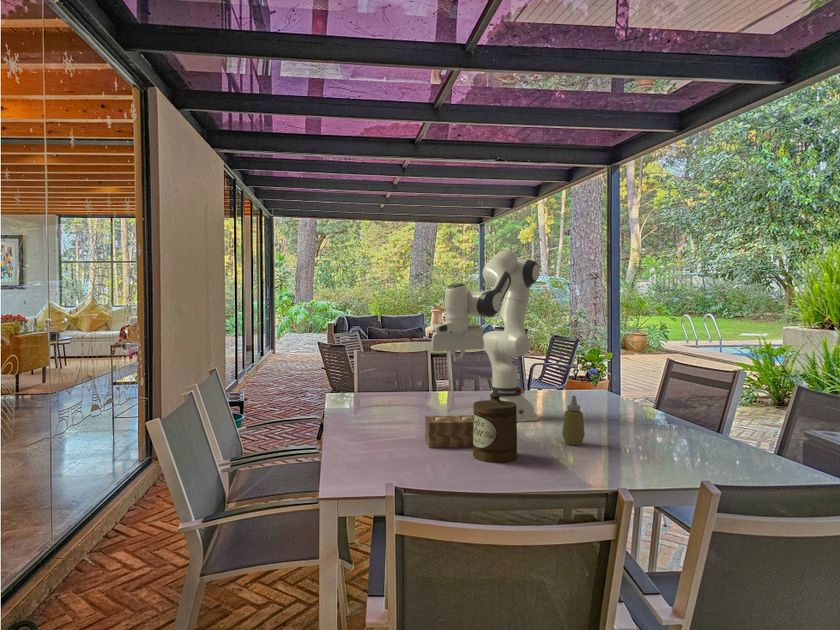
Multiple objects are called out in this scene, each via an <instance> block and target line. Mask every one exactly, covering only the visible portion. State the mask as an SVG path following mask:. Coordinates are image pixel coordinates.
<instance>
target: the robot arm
mask: <svg viewBox="0 0 840 630" xmlns="http://www.w3.org/2000/svg"><path fill="white" fill-rule="evenodd" d="M539 276H540V265H539V263H538V262H537V261H535V260H532V259H524V258H519V257H518V258H517V255H516V254H515V252H513V251H511V250H509V249H504V250H501V251H499V252H497V253H496V254H495V255H494V256H492V257H491V258H490V259H489V261H487V263H485V265H484V267H483V269H482V278H483V280H484V282H485V283H486V284H487V285H488V286H490V287H492V288H491V289H489V290H485V291H482V290H481V291H474V290H473V291H472V290H469V289H468V288H467V286H466V284H465V283H462V282H461V283H460V282H458V283H451V284H449V285H448V286H446V288H445V293H444V307H445V318H444V319H445V320H444V321H443V322H441V323H438V324H435V325H434V326H433V330H434V331H433V333H432V335H431V343H430V344H431V345H430V346H431V347H430V348H431V350H432V351H433V352H447V351H448V352H449V351H450V354H451V355H452V357H453V361H454V363H463V358H464V355H465V353H466V352H465V351H470V350H471V351H473V350H483V351H484V352H485V353H486V354H487V356H488V359H489V361H490V362H489V363H490V366H491V374H492V375H491V377H492V381H491V382H492V383H491V384H492V385H491V389H490V394H491V393H493V392H497V393H499V394H500V398H499V399H500V400H501V401H509V402H513V403H515V404H516V407H517V414H516V415H517V423H518V422H533V421H540V415H538V414H536V413H535V409H534V405H533V404H532V403H531V402H530V401H529V399H527V398H525V396H524V395H522V394H524V393H525V389H524V388H522V387H520V386H518V368H517V367H516V366H515V365H514V364H513V362H512V359H511V357H513V358H518V357H524V356H526V355H527V354H528V353H529V352H530V349H531V340H530V338H529V337H528V334H526V331H525V318H526V314H527V308H528V306H529V305H528V304H529V299H530V291H531V290H530V289H531V288H530V287H531V286H533V284H535V283H536V282H537V280H538V278H539ZM498 312H500V313H499V318H500V320H502V322H503V324H504V328H503V330H491V331H487V332H485V329H484V327H483V326H482V325H479V324H478V325H477V324H476V325H475V324H474V325H472V324H471V325H469V317H470V316H471V317H484V318H493V317H495V316H496V315H497V313H498ZM456 351H460V354H459V356H456Z"/></svg>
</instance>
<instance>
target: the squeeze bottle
mask: <svg viewBox="0 0 840 630" xmlns="http://www.w3.org/2000/svg"><path fill="white" fill-rule="evenodd" d="M577 401H578V400H577V397H576V395H571V400H570V402H569V403H570V404H567V405H566V409H567V410H565V411H564V414H563V421H562V423H563V424H562V430H561V431H562V433H561V434H562V437H563V441H564V444H565V445H567V446H572V445H573V446H577V447H578V446H581V445H582V443H583V440H584V438H585V424H584V413H583V412H582V411H581V405H579V404H578V402H577Z"/></svg>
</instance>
